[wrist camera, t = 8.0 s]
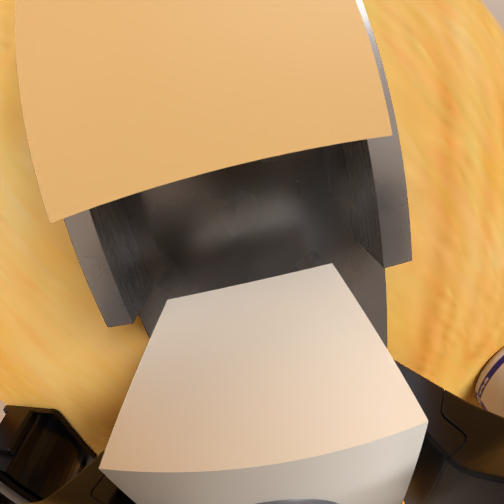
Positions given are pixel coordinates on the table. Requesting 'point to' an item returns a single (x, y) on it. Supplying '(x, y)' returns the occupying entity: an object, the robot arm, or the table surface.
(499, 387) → the energy drink
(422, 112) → the table surface
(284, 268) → the press frame
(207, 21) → the block
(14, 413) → the robot arm
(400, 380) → the block
